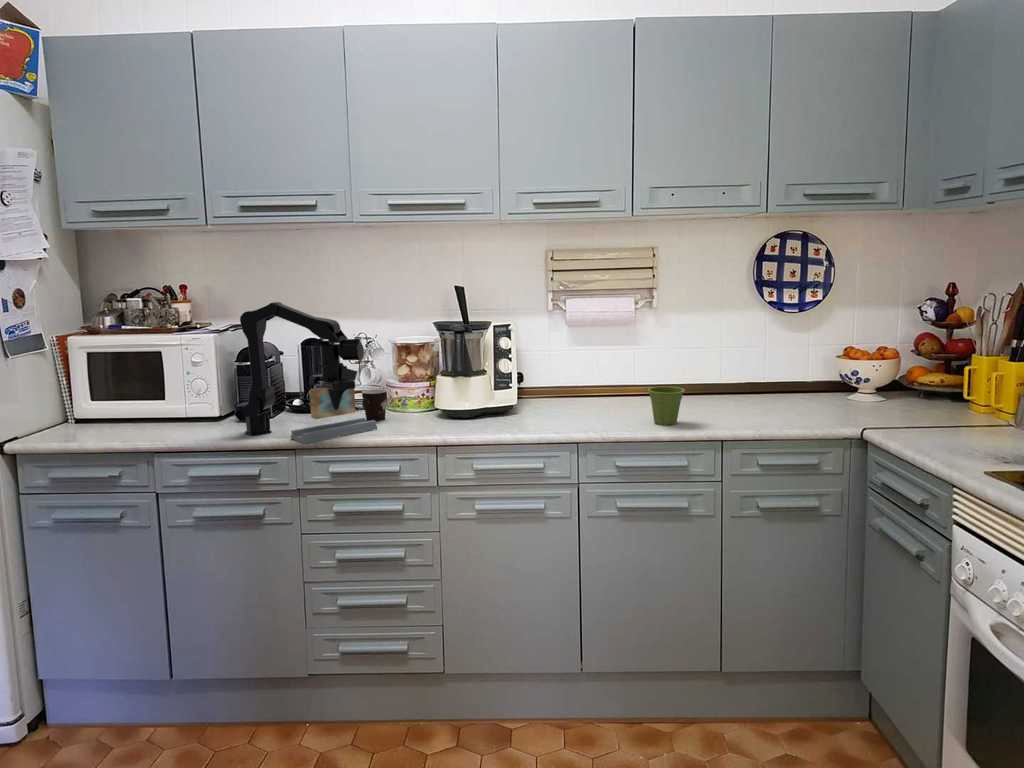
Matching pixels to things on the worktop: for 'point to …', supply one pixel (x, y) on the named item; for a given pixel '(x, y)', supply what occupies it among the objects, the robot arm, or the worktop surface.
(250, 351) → the robot arm
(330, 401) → the tan rectangular block
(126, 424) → the worktop surface
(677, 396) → the plant pot
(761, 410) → the worktop surface
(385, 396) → the coffee mug
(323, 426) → the rail
